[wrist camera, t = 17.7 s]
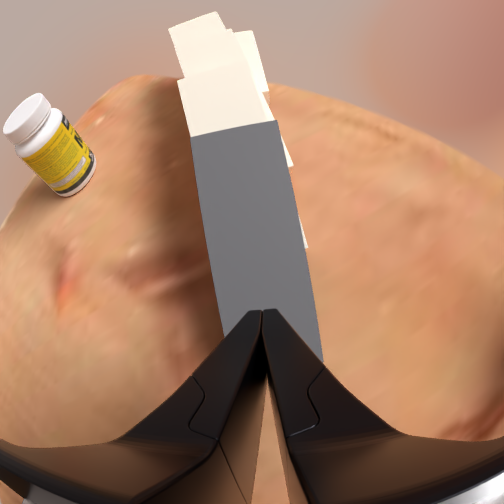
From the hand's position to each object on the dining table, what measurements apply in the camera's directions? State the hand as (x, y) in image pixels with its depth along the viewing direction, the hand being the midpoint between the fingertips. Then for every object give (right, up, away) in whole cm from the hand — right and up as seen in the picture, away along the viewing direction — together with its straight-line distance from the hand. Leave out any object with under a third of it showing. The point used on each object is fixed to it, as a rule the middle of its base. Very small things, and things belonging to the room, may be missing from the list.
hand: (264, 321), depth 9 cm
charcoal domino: (+1, -4, +6) cm, 7 cm away
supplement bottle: (-16, +9, +14) cm, 23 cm away
